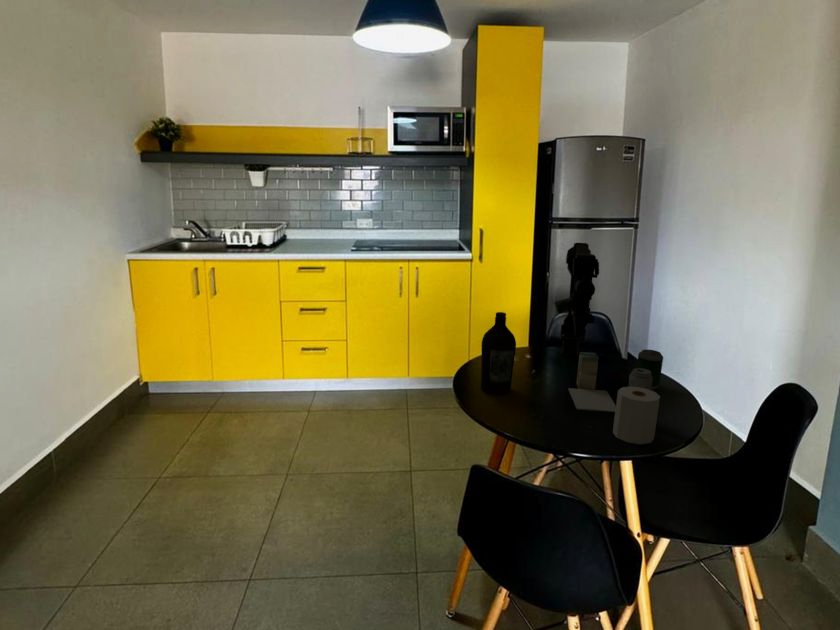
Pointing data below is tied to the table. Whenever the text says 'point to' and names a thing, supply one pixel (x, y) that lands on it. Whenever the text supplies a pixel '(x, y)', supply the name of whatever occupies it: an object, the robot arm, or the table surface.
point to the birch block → (587, 370)
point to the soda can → (651, 364)
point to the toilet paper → (636, 415)
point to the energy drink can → (641, 378)
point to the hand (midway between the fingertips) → (577, 336)
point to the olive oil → (497, 357)
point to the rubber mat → (592, 400)
